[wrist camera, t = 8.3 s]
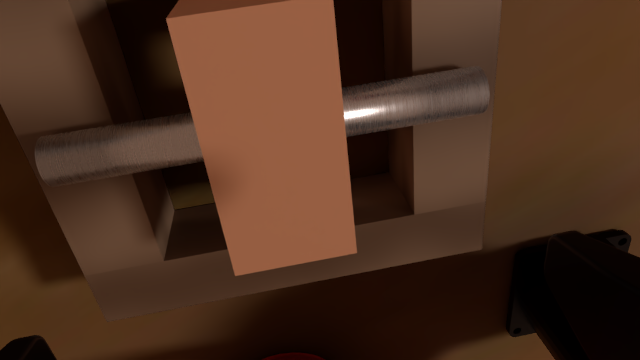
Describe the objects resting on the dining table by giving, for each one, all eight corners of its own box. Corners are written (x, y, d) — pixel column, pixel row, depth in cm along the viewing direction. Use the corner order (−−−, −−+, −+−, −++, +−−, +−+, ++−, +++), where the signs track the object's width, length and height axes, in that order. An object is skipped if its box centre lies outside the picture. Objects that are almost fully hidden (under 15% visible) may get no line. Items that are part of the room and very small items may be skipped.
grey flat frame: (449, 205, 23) (481, 249, 20) (125, 265, 22) (107, 321, 19) (462, -178, 16) (517, -200, 13) (-37, -117, 14) (-111, -125, 11)
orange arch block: (328, 173, 20) (357, 252, 15) (235, 189, 20) (235, 275, 15) (304, -29, 16) (332, -6, 11) (187, -12, 16) (165, 18, 11)
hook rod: (467, 104, 17) (487, 121, 15) (67, 171, 16) (50, 196, 14) (469, 60, 16) (491, 73, 15) (47, 128, 15) (27, 150, 14)
